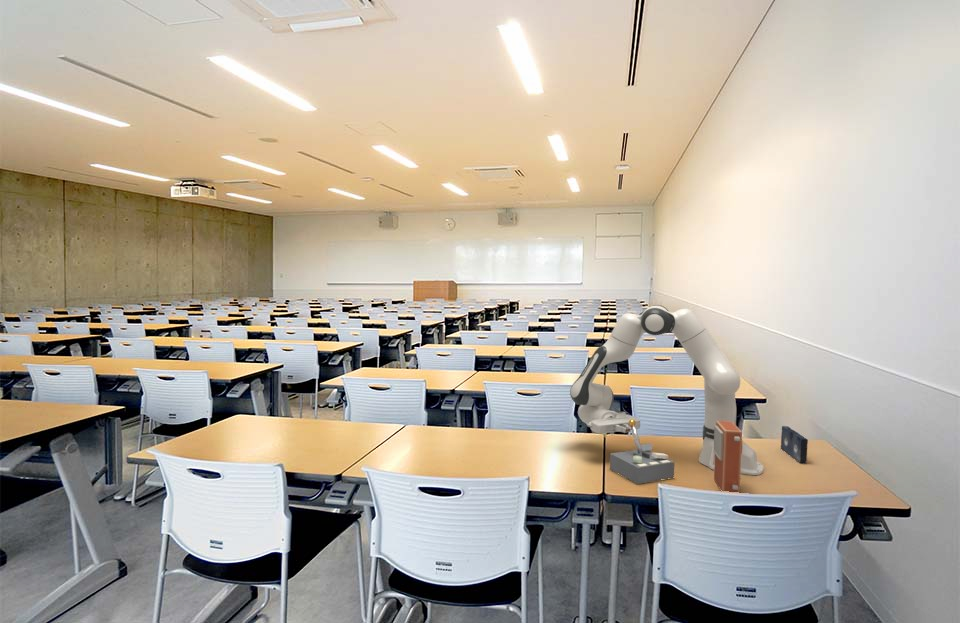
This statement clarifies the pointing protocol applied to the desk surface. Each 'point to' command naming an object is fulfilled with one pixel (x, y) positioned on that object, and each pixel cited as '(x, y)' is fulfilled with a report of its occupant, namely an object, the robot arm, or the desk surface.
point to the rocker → (660, 455)
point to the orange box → (727, 455)
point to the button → (637, 459)
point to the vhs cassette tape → (794, 444)
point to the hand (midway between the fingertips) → (627, 430)
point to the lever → (635, 436)
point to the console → (641, 466)
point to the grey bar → (646, 447)
